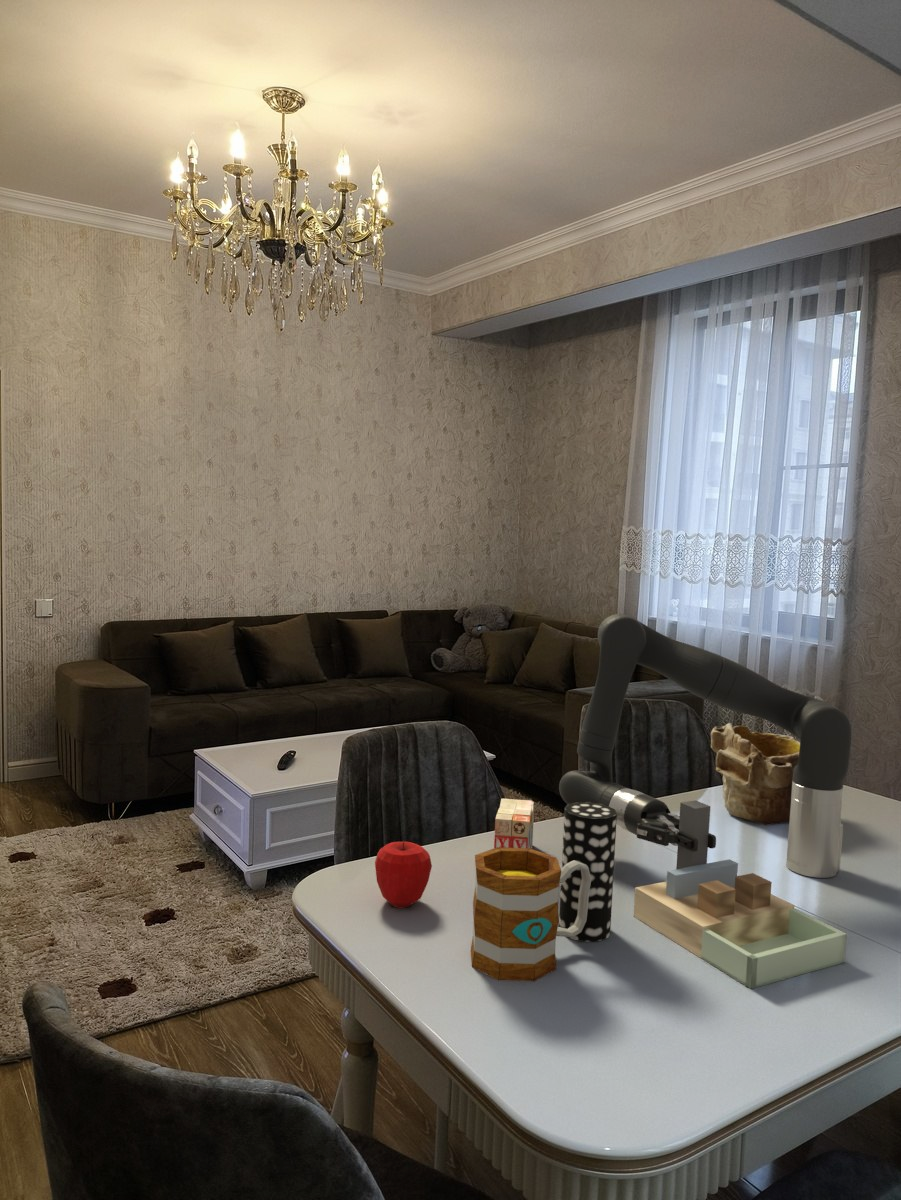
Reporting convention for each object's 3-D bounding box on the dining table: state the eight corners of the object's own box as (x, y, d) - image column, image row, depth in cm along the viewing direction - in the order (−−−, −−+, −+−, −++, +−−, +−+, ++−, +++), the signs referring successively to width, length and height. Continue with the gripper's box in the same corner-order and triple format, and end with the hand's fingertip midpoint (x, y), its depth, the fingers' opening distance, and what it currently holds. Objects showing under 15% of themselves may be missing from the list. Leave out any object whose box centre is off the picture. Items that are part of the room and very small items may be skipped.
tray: (792, 934, 146) (794, 908, 146) (844, 962, 137) (846, 933, 137) (700, 958, 137) (702, 929, 136) (750, 989, 128) (752, 958, 127)
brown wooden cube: (715, 904, 145) (717, 880, 144) (734, 914, 141) (735, 889, 141) (697, 908, 143) (698, 884, 143) (715, 918, 139) (716, 893, 139)
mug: (492, 989, 125) (496, 886, 124) (453, 946, 137) (457, 852, 136) (610, 966, 133) (615, 869, 132) (563, 928, 145) (568, 838, 144)
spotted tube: (598, 947, 139) (605, 822, 137) (550, 932, 143) (556, 811, 142) (617, 927, 146) (624, 808, 144) (571, 914, 150) (577, 799, 149)
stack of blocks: (502, 842, 184) (505, 784, 183) (532, 845, 183) (535, 787, 182) (492, 883, 163) (495, 817, 162) (526, 886, 162) (529, 820, 161)
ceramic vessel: (864, 795, 199) (810, 710, 194) (784, 864, 196) (726, 780, 191) (802, 766, 221) (752, 689, 216) (729, 828, 218) (676, 752, 213)
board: (720, 897, 160) (722, 870, 160) (792, 934, 146) (794, 905, 146) (633, 916, 151) (635, 887, 150) (700, 958, 137) (703, 926, 136)
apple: (440, 908, 151) (443, 846, 150) (390, 919, 146) (392, 855, 145) (412, 887, 159) (414, 828, 158) (364, 897, 154) (366, 836, 153)
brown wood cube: (751, 896, 149) (752, 873, 148) (769, 905, 145) (771, 881, 145) (733, 900, 147) (735, 876, 146) (752, 909, 143) (753, 885, 143)
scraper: (713, 874, 158) (718, 797, 156) (736, 885, 153) (741, 806, 152) (651, 886, 151) (656, 806, 150) (674, 899, 146) (679, 815, 145)
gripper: (609, 797, 161) (674, 827, 146) (669, 789, 168) (737, 817, 153) (606, 838, 162) (671, 872, 147) (666, 828, 168) (734, 860, 153)
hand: (705, 844), depth 150 cm, fingers closed on scraper, 3 cm apart
